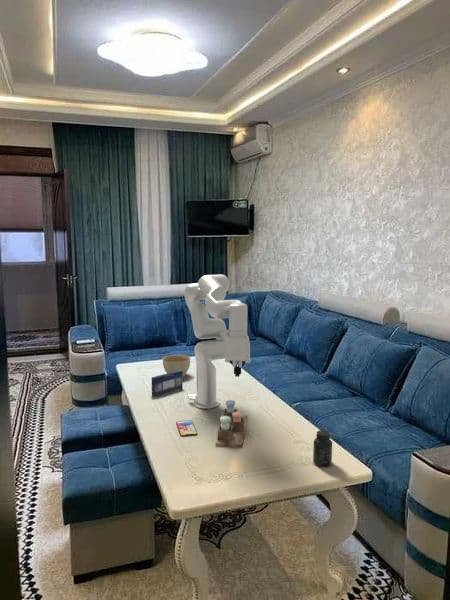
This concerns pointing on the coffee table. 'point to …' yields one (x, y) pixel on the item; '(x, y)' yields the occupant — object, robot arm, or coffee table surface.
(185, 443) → the coffee table surface
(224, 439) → the button board
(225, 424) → the button sage
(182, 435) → the smartphone
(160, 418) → the coffee table surface
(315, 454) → the supplement bottle
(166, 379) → the vhs cassette tape
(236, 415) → the button terracotta
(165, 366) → the planter bowl
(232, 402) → the button slate
